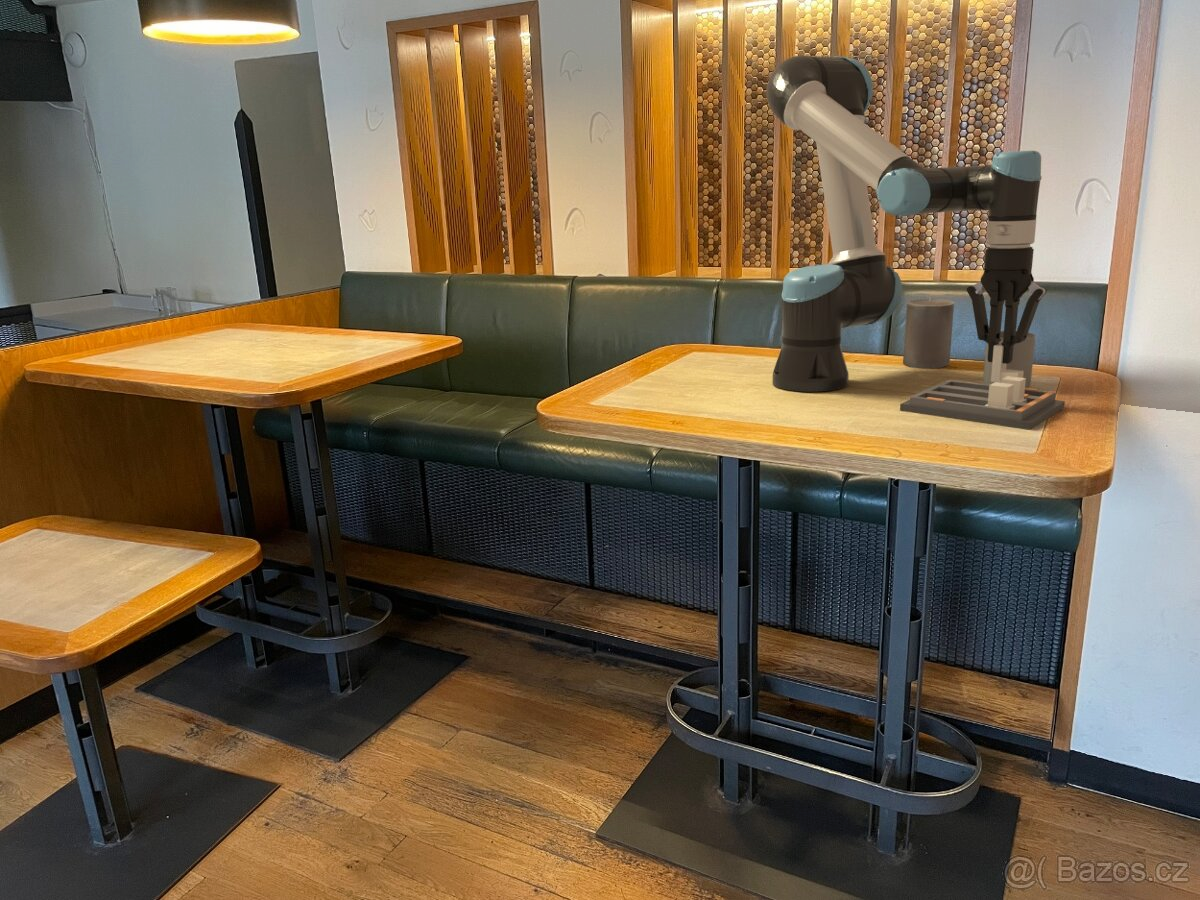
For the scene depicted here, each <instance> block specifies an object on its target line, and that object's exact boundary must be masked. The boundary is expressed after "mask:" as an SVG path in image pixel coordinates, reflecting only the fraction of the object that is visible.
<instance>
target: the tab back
mask: <svg viewBox="0 0 1200 900" xmlns="http://www.w3.org/2000/svg"><path fill="white" fill-rule="evenodd" d="M1023 373H1024V371H1019V370H1009V369H1005V370H1003V371H1001V373H1000V383H1002V379H1003V378H1005V377H1007V376H1010V377H1019V378H1023ZM1024 394H1025V391H1024Z"/></svg>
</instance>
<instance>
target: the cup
mask: <svg viewBox="0 0 1200 900" xmlns="http://www.w3.org/2000/svg"><path fill="white" fill-rule="evenodd" d="M1016 332H1017V330H1016ZM1003 335H1004V330H1001V334H1000V339H1001V341H1000V342H999V343H1003ZM1035 344H1036V334H1034V333H1032V332H1028V334H1027V337H1026V340H1024V341H1022V342H1020V343H1016V344H1015V345H1014V348H1013V359H1012V361H1011V363H1009V364H1006V369H1009V370H1019V371H1024V373H1023V378H1026V382H1025V388H1031V382H1032V375H1033V374H1032V373H1033V365H1034V364H1033V363H1034V356H1035ZM987 358H988V343H987V342H985V353H984V366H983V377H982V384H989V385H991V384H993V383H995V382H991V374H992V362H988V359H987ZM998 383H1000V382H998Z"/></svg>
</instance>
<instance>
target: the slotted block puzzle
mask: <svg viewBox="0 0 1200 900" xmlns="http://www.w3.org/2000/svg"><path fill="white" fill-rule="evenodd" d="M988 395H989V384H983V383H979V382H971V381H963V380H955V379H947V380H945V381H943V382H940V383H938V384H936V385H933V386H931V387H928V388H927V389H925V390H923V391H920V392H918V393H916V394H913V395H911V396H909V399H907V400H906V401H904V402H901V403H900V404H899V406H900V407H899V411H902V412H910V413H916V414H923V415H929V416H936V417H941V418H942V417H944V418H951V419H955V420H963V421H968V422H969V421H970V422H977V423H983V424H990V425H996V426H1001V427H1002V426H1003V427H1009V428H1016V429H1022V430H1023V429H1024V430H1028V431H1029V430H1031V429H1034V427H1036V426H1037V425H1038V426H1039V424H1041V423H1042V422H1044V421H1046V420H1047V419H1049V418H1050V417H1051V416H1054V415H1056V414H1057V413H1058V412H1060V411H1061V410H1063V409H1064V408H1065V404H1066V401H1065V400H1061V399H1060V400H1059V399H1056V398H1057V397H1056V396H1057V391H1054V390H1049V391H1047V390H1040V389H1039V388H1032V387H1030V388H1025V394H1024V399H1027V403H1023V402H1016V401H1012V405H1014V406H1015V410H1013V409H1005V408H998V407H991V406H985V405H987V404H988Z"/></svg>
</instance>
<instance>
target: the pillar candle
mask: <svg viewBox="0 0 1200 900" xmlns="http://www.w3.org/2000/svg"><path fill="white" fill-rule="evenodd" d="M955 304H956V302H955V301H953V300H949V299H944V298H943V299H941V298H932V295H930V296H929V298H920V299H919V298H918V299H911V300H908V301H907V302H906V313H905V315H906V316H905V324H904V325H905V330H904V342H903V357H902V359H903V360H902V364H903V365H904V366H906V367H908V368H915V369H927V370H928V369H929V370H930V369H942V368H944V367H948V366H949V365H950V361H951V349H952V348H951V347H952V337H953V336H952V335H953V334H952V333H953V323H954V322H953V321H954V320H953V319H954V309H955Z"/></svg>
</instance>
